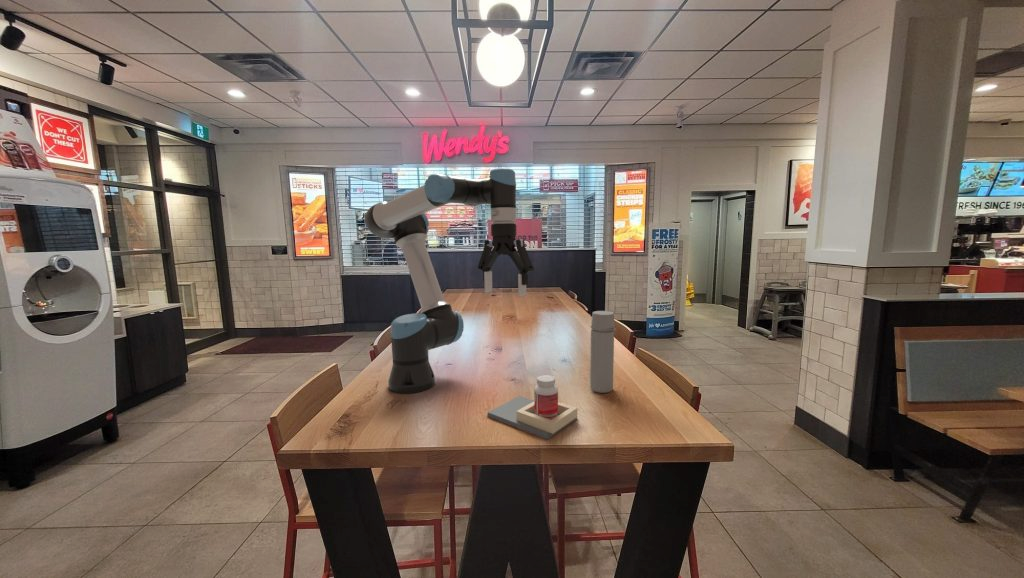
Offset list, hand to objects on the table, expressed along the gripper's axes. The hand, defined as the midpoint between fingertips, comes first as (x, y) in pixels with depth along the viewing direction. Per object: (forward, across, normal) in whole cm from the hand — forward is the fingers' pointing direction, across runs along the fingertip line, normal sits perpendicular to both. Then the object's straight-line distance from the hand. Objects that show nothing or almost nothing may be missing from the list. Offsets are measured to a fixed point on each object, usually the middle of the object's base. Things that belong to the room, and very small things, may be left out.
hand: (504, 294), depth 117 cm
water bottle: (+32, +22, +22) cm, 45 cm away
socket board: (+32, +16, -8) cm, 36 cm away
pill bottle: (+31, +21, -8) cm, 38 cm away
